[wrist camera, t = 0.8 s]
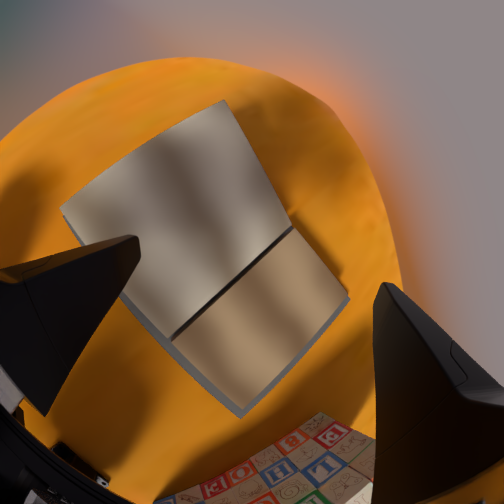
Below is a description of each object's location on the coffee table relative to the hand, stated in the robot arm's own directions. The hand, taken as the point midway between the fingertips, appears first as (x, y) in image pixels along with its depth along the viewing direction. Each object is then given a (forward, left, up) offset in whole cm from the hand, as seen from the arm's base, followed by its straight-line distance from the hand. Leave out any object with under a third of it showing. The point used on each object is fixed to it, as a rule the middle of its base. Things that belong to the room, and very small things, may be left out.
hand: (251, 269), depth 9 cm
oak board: (+2, -5, -14) cm, 15 cm away
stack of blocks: (-11, -18, -15) cm, 26 cm away
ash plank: (+2, +5, -11) cm, 13 cm away
